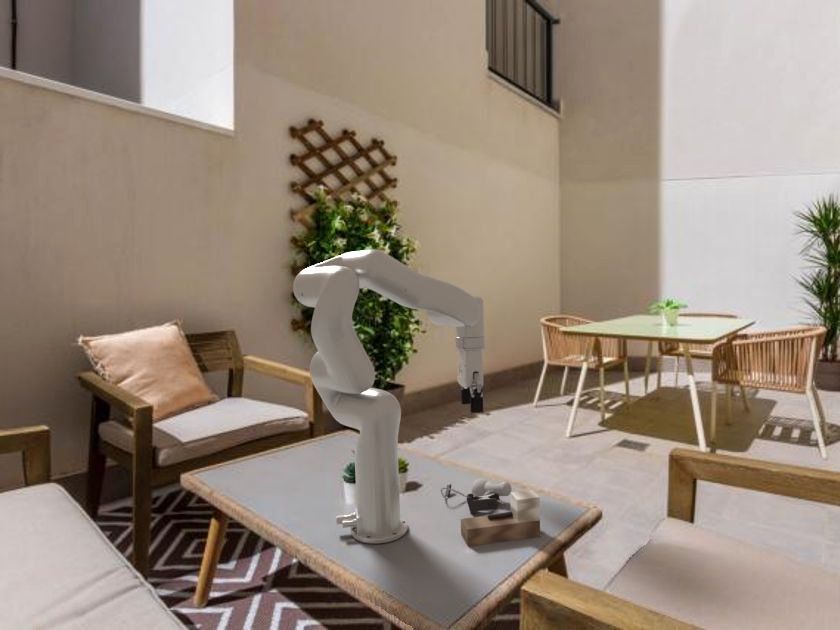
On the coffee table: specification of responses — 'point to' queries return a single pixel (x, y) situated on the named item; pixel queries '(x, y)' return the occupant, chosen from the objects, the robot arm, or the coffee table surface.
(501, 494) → the clip-on lamp
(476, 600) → the coffee table surface
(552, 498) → the coffee table surface
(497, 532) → the charging dock
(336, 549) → the coffee table surface
